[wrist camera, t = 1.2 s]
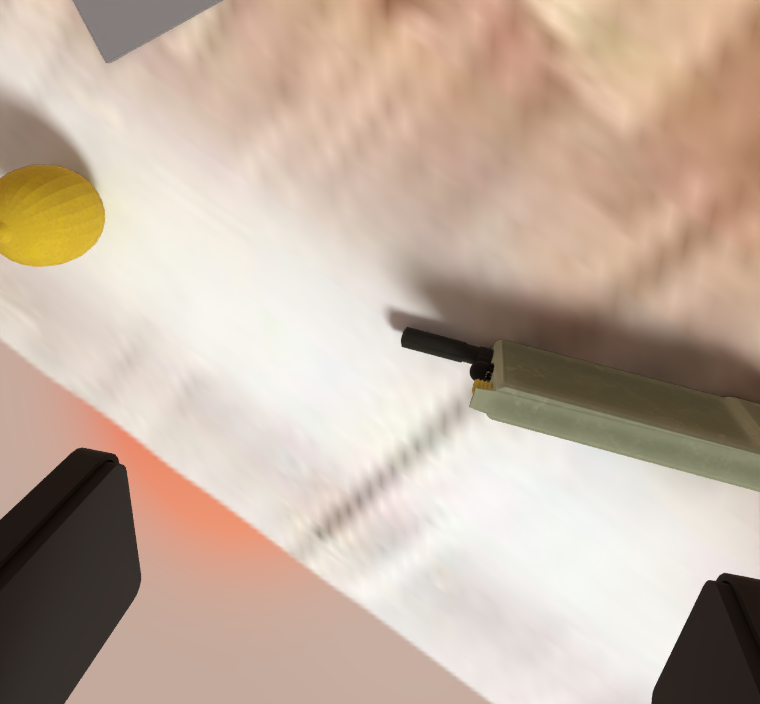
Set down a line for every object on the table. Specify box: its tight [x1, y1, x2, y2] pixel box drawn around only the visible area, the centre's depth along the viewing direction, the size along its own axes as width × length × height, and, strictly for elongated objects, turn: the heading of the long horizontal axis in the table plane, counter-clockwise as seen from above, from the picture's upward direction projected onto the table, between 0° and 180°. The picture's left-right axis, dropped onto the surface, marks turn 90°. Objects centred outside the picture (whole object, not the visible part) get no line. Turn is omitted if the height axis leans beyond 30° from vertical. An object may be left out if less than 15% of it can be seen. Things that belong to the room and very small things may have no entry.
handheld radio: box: [401, 327, 760, 492], centre depth 35 cm, size 7×3×25 cm
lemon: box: [0, 165, 105, 267], centre depth 34 cm, size 6×6×8 cm
